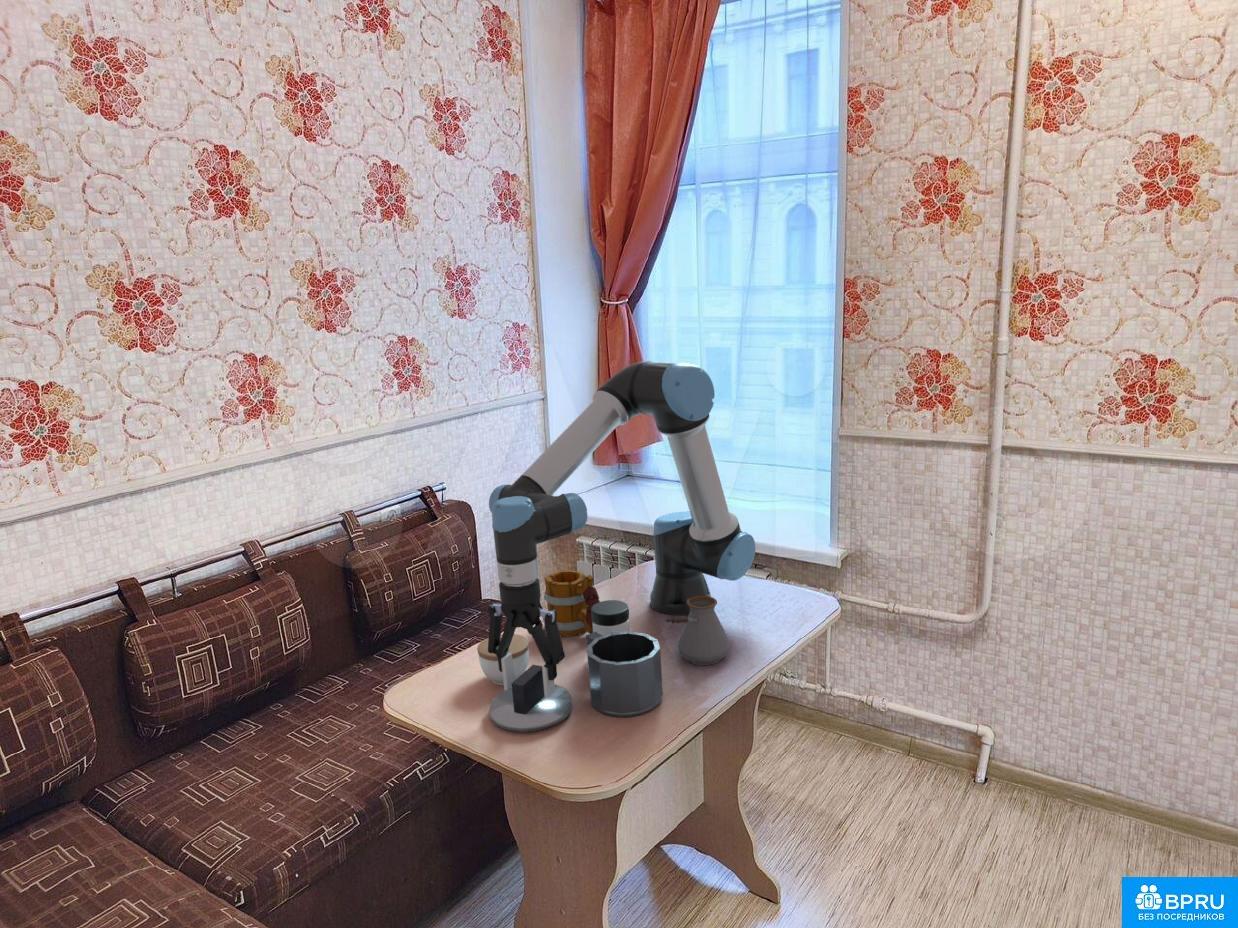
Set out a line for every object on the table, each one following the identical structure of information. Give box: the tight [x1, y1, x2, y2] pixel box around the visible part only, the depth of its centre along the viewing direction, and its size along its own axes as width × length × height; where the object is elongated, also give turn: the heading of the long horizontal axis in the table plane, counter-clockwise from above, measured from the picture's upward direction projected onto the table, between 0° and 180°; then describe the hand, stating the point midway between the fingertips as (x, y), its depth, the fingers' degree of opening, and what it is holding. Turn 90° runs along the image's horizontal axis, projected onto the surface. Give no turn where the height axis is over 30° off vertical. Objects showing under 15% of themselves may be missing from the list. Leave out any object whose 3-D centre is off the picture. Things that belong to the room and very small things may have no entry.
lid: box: [488, 664, 573, 732], centre depth 160 cm, size 16×16×8 cm
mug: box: [543, 569, 601, 637], centre depth 195 cm, size 11×16×15 cm, turn 46°
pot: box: [585, 630, 664, 718], centre depth 164 cm, size 14×18×11 cm
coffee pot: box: [661, 596, 731, 666], centre depth 173 cm, size 21×12×15 cm, turn 147°
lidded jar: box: [477, 633, 530, 686], centre depth 174 cm, size 11×11×9 cm
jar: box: [591, 599, 631, 636], centre depth 179 cm, size 9×8×12 cm
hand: (529, 690), depth 160 cm, fingers open, 8 cm apart
